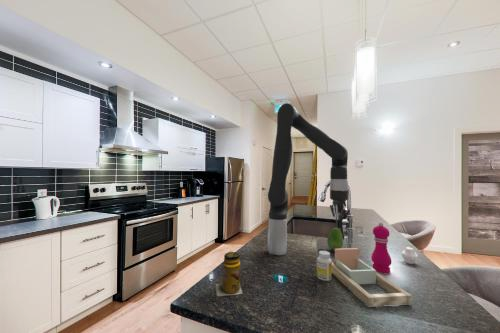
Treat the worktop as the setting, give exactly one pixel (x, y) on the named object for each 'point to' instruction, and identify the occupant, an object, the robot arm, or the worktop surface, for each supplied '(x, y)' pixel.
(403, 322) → the worktop surface
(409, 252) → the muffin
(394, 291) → the bay
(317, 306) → the worktop surface
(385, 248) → the pepper mill
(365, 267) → the drawer
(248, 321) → the worktop surface
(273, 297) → the worktop surface
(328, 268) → the supplement bottle
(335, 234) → the avocado
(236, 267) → the condiment
